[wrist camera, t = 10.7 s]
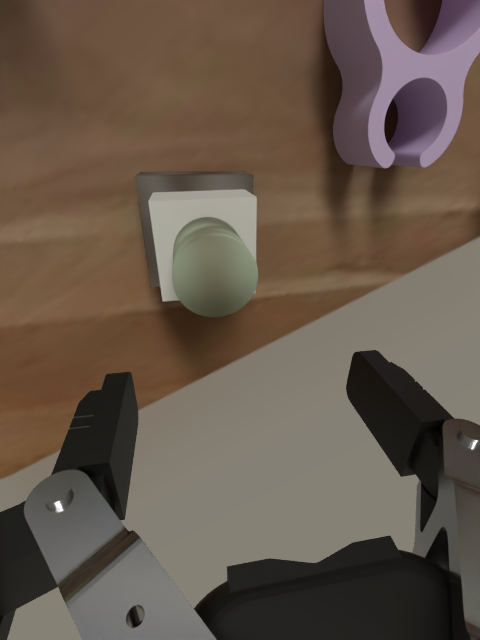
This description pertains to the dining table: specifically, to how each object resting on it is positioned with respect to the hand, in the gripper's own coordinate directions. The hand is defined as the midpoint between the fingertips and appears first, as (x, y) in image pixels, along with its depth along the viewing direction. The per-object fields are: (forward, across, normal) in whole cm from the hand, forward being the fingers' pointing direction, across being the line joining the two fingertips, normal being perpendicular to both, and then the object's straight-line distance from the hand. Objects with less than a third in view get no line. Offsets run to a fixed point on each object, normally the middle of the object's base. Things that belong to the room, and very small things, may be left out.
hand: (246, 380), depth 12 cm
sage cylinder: (+16, 0, 0) cm, 16 cm away
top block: (+21, 0, 0) cm, 21 cm away
